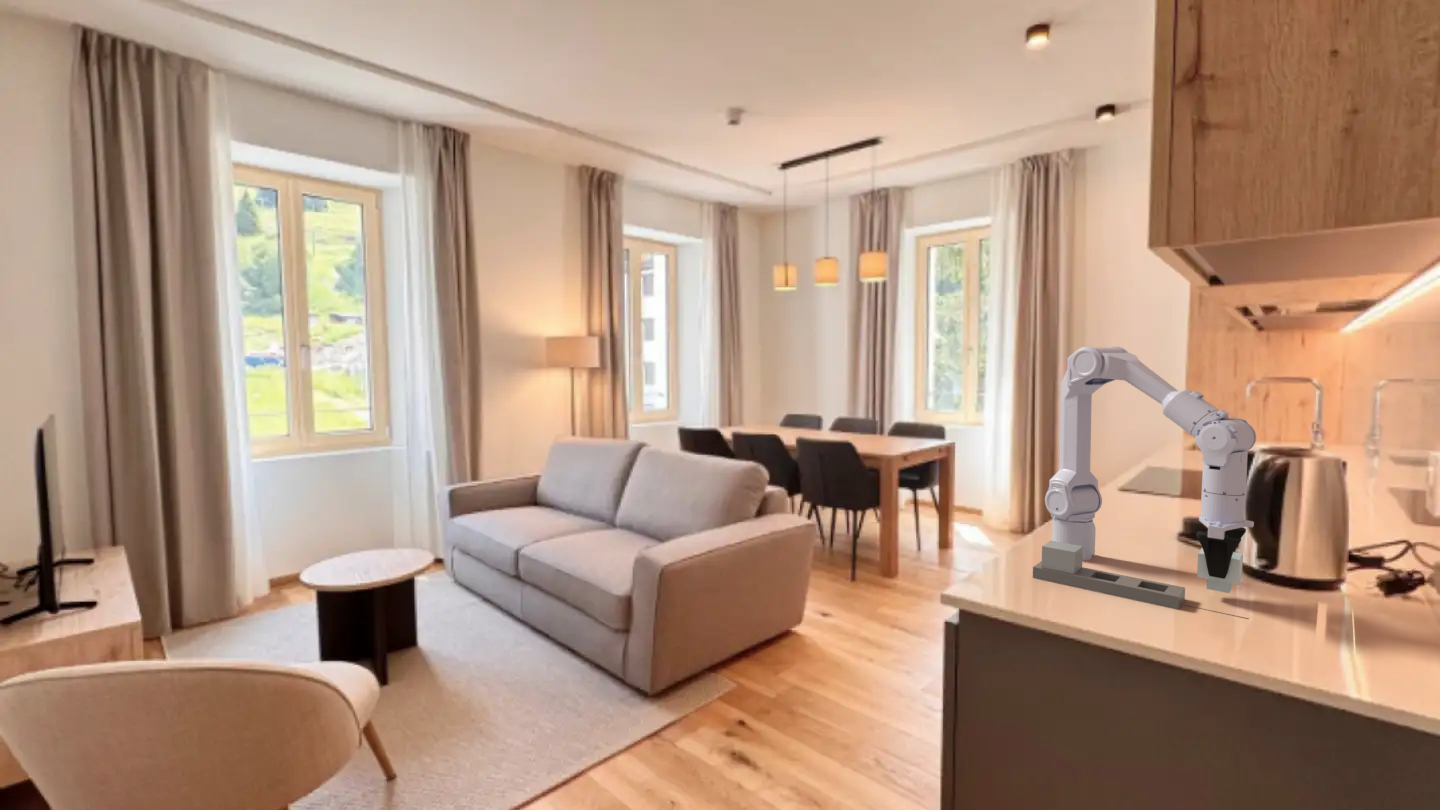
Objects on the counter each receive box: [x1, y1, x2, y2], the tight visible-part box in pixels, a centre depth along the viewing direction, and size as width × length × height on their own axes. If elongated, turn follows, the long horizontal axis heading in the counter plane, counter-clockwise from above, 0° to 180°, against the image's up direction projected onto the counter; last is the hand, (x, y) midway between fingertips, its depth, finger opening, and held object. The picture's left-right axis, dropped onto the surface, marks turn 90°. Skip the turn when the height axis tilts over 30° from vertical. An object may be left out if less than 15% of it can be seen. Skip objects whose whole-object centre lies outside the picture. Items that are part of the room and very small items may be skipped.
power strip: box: [1032, 540, 1250, 620], centre depth 109 cm, size 6×30×7 cm, turn 46°
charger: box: [1196, 547, 1244, 594], centre depth 106 cm, size 5×5×6 cm
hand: (1219, 572), depth 106 cm, fingers closed on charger, 5 cm apart
